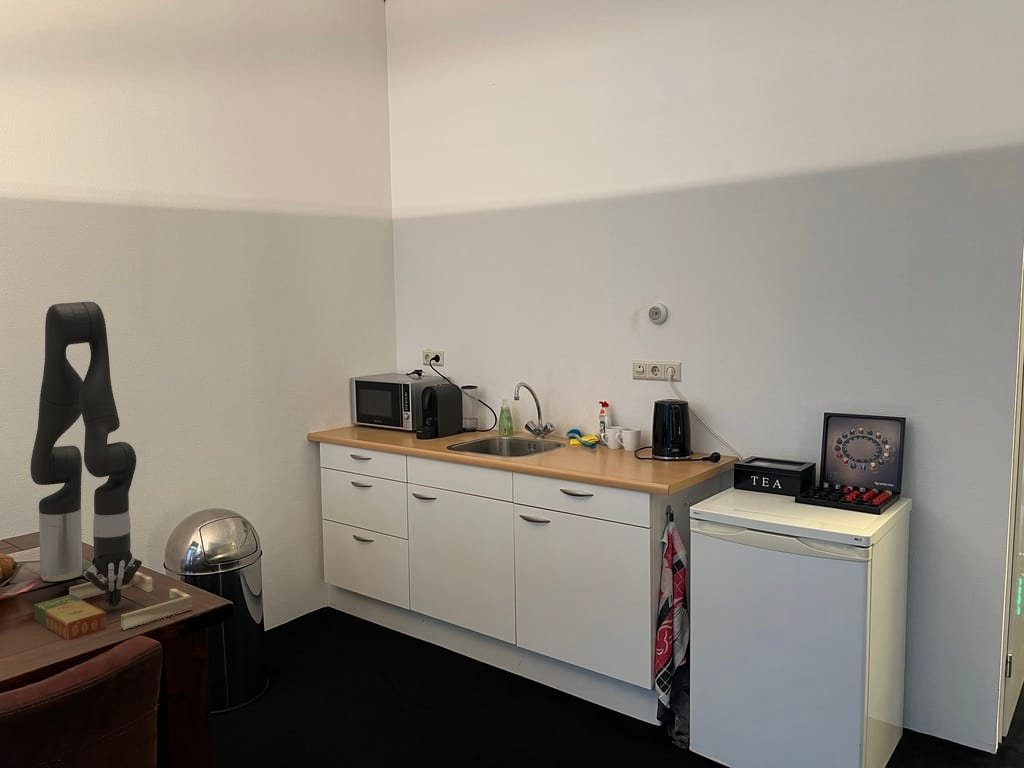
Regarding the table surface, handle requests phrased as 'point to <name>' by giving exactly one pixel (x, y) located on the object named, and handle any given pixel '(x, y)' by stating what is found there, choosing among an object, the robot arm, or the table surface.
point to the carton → (70, 616)
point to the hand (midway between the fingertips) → (113, 605)
